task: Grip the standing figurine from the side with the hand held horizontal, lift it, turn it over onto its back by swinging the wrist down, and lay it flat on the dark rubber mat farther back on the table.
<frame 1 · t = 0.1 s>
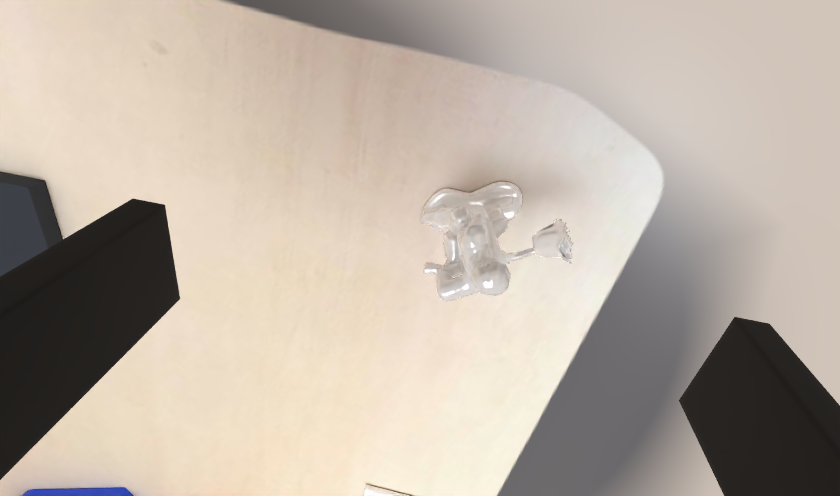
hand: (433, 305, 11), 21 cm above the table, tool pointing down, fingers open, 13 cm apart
figurine: (485, 197, 31), on the table
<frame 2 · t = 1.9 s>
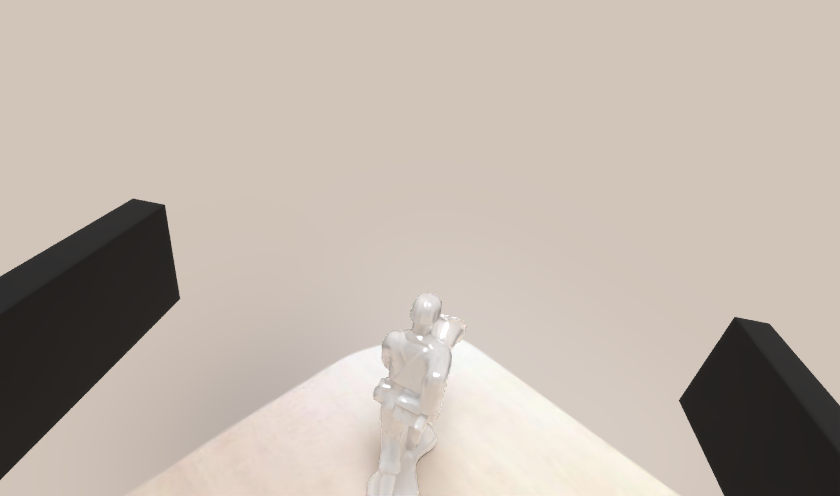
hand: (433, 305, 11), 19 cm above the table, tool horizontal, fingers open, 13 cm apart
figurine: (402, 453, 28), on the table
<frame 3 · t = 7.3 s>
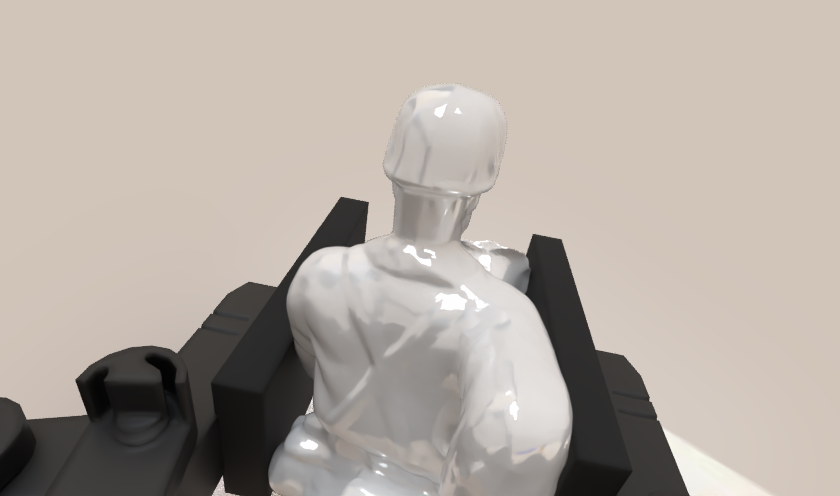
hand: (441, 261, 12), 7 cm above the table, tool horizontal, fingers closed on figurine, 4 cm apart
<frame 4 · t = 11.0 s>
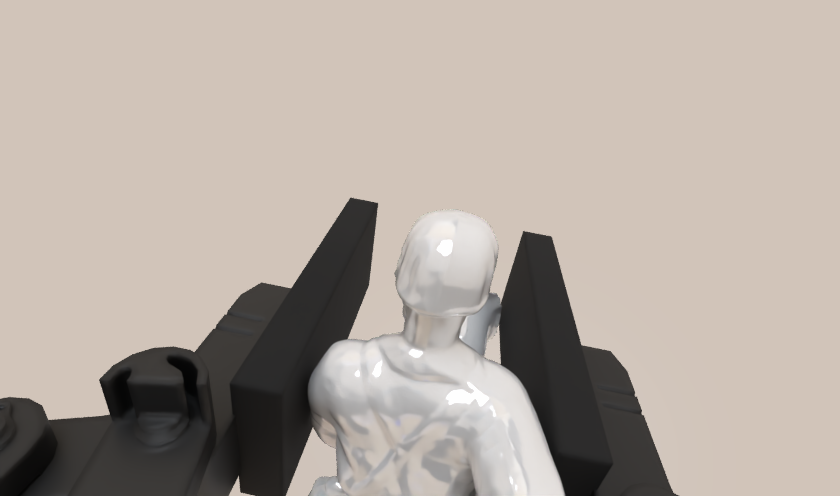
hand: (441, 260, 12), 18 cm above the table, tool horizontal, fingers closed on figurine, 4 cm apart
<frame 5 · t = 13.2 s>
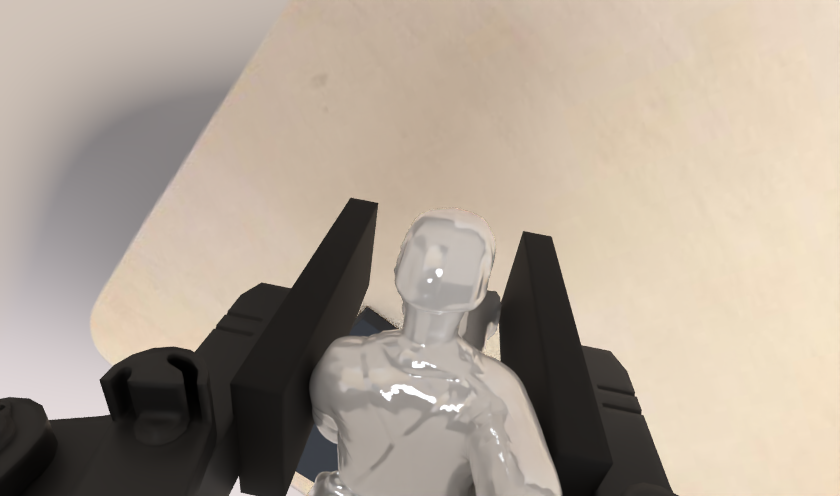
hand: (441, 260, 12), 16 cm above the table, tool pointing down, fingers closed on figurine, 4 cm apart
display mat: (382, 426, 39), on the table
when the fingers open (2 cm above the table, at t = 19.3 s): figurine moves 1 cm, resting on display mat.
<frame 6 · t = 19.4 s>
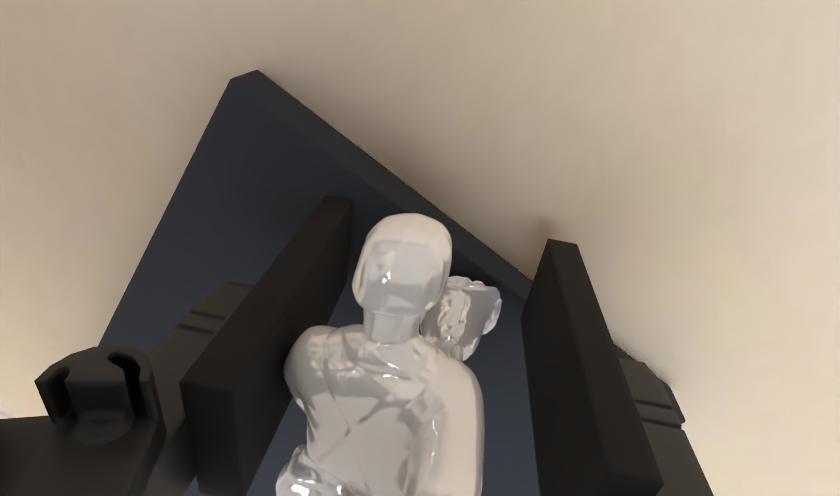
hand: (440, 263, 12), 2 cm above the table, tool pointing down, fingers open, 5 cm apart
display mat: (335, 397, 18), on the table
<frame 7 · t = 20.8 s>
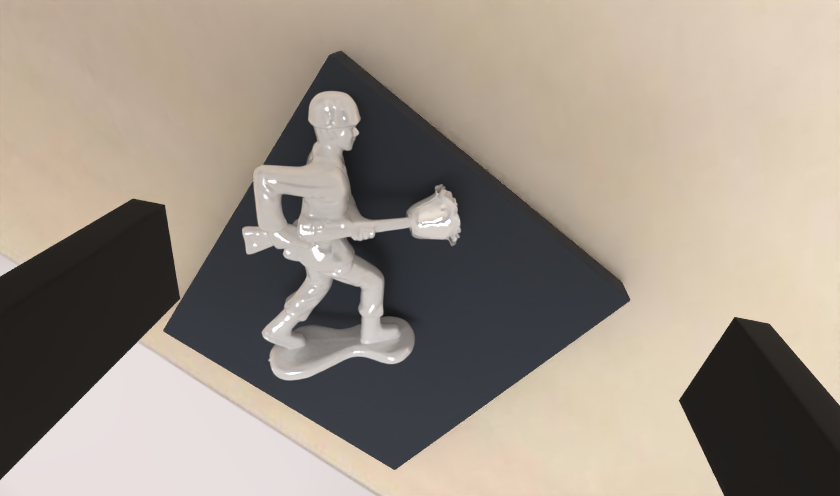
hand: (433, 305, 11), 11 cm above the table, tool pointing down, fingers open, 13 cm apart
display mat: (376, 300, 25), on the table
figurine: (364, 342, 22), point 3 cm above the table, touching display mat
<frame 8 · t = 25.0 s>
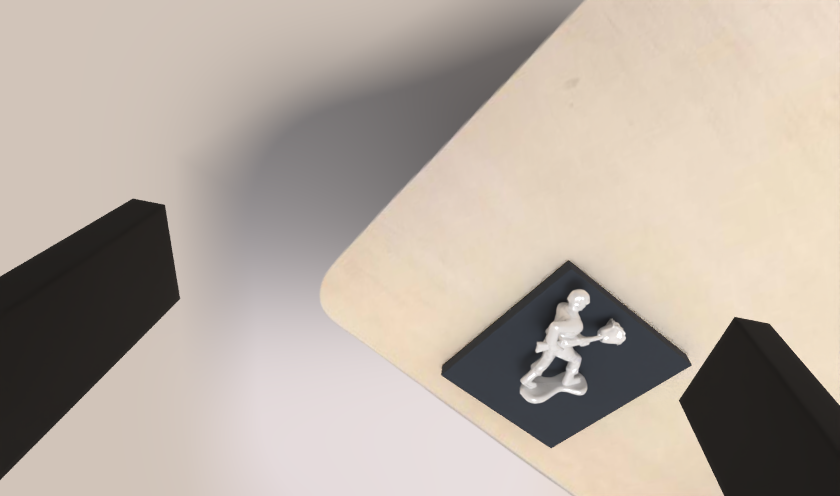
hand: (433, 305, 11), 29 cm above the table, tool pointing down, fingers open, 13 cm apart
display mat: (557, 360, 48), on the table
figurine: (560, 383, 46), point 3 cm above the table, touching display mat
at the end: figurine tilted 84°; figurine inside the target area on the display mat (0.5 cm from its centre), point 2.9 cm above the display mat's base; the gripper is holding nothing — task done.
